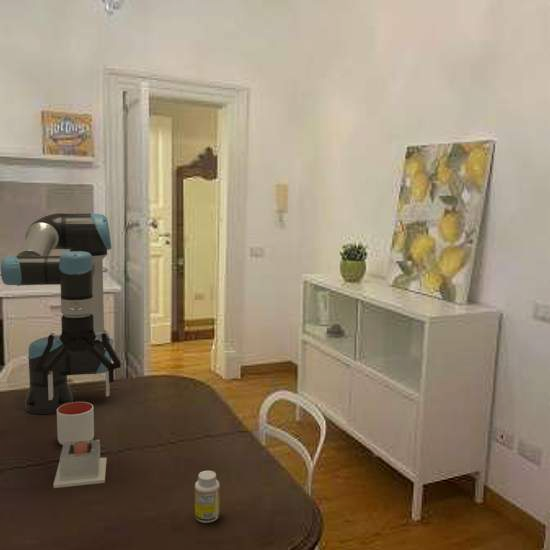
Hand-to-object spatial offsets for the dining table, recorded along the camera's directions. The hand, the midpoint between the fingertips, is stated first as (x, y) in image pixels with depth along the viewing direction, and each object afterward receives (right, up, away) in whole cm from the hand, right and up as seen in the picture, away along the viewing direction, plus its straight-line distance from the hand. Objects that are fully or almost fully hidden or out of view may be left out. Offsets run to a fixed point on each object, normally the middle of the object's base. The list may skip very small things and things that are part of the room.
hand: (79, 396), depth 139 cm
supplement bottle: (+34, -24, -15) cm, 44 cm away
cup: (-9, -18, +21) cm, 29 cm away
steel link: (-1, -20, +3) cm, 20 cm away
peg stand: (-1, -21, +3) cm, 21 cm away
